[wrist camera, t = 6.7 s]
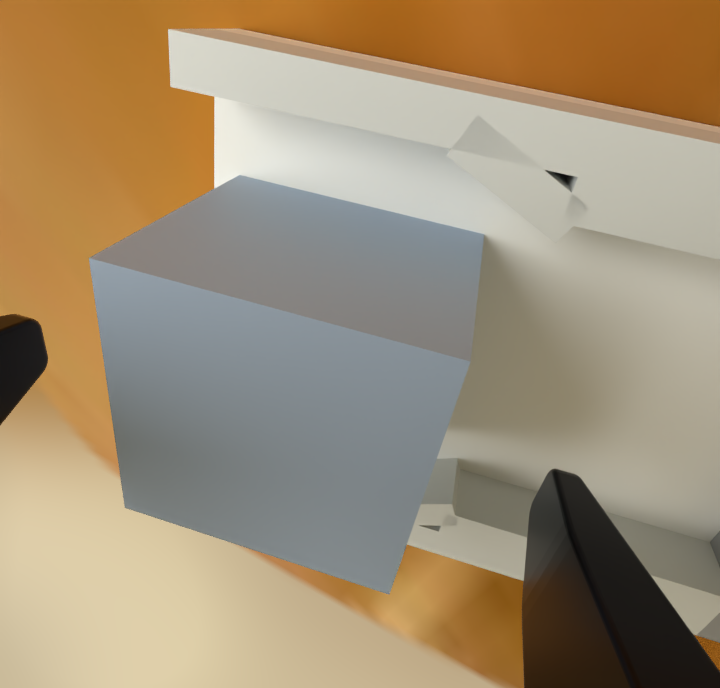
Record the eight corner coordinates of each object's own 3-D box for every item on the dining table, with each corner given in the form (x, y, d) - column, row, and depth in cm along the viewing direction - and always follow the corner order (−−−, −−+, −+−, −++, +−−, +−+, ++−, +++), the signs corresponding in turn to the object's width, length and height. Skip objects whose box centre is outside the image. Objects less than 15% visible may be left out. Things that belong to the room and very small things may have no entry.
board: (1047, 194, 8) (1227, 249, 6) (713, 558, 14) (750, 652, 12) (238, 28, 10) (168, 29, 8) (229, 415, 15) (186, 475, 13)
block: (483, 233, 10) (470, 361, 6) (424, 425, 13) (389, 594, 9) (239, 175, 10) (88, 257, 7) (233, 371, 13) (124, 507, 9)
